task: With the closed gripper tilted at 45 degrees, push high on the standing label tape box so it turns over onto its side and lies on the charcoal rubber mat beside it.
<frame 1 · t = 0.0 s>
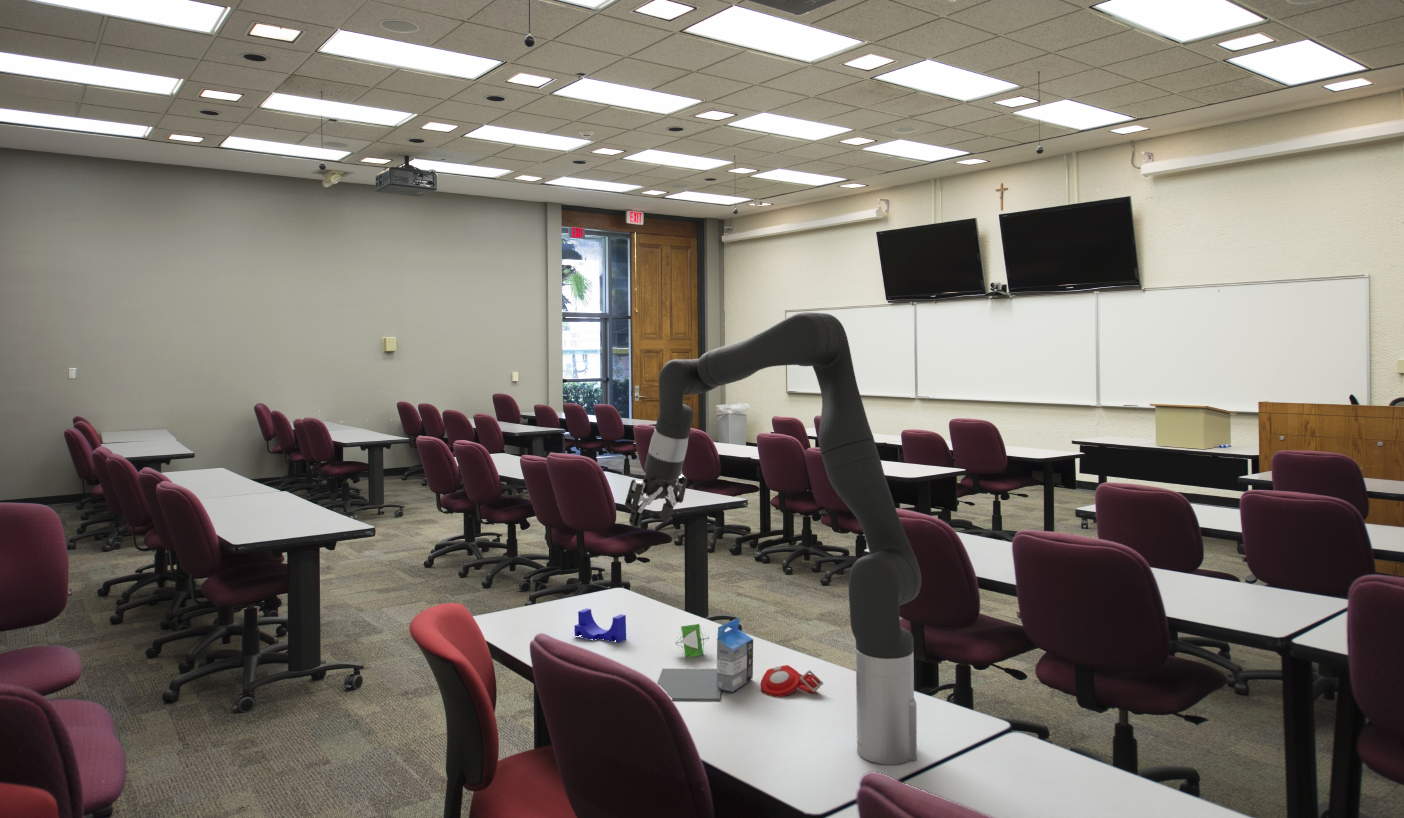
hand: (649, 523, 179), 31 cm above the table, tool tilted 20°, fingers open, 8 cm apart
mat: (689, 684, 173), on the table
label tape box: (734, 684, 172), on the table, touching mat
tracker holder: (789, 692, 169), on the table
blue cradle support: (600, 639, 203), on the table
geometric puzzle: (692, 655, 191), on the table
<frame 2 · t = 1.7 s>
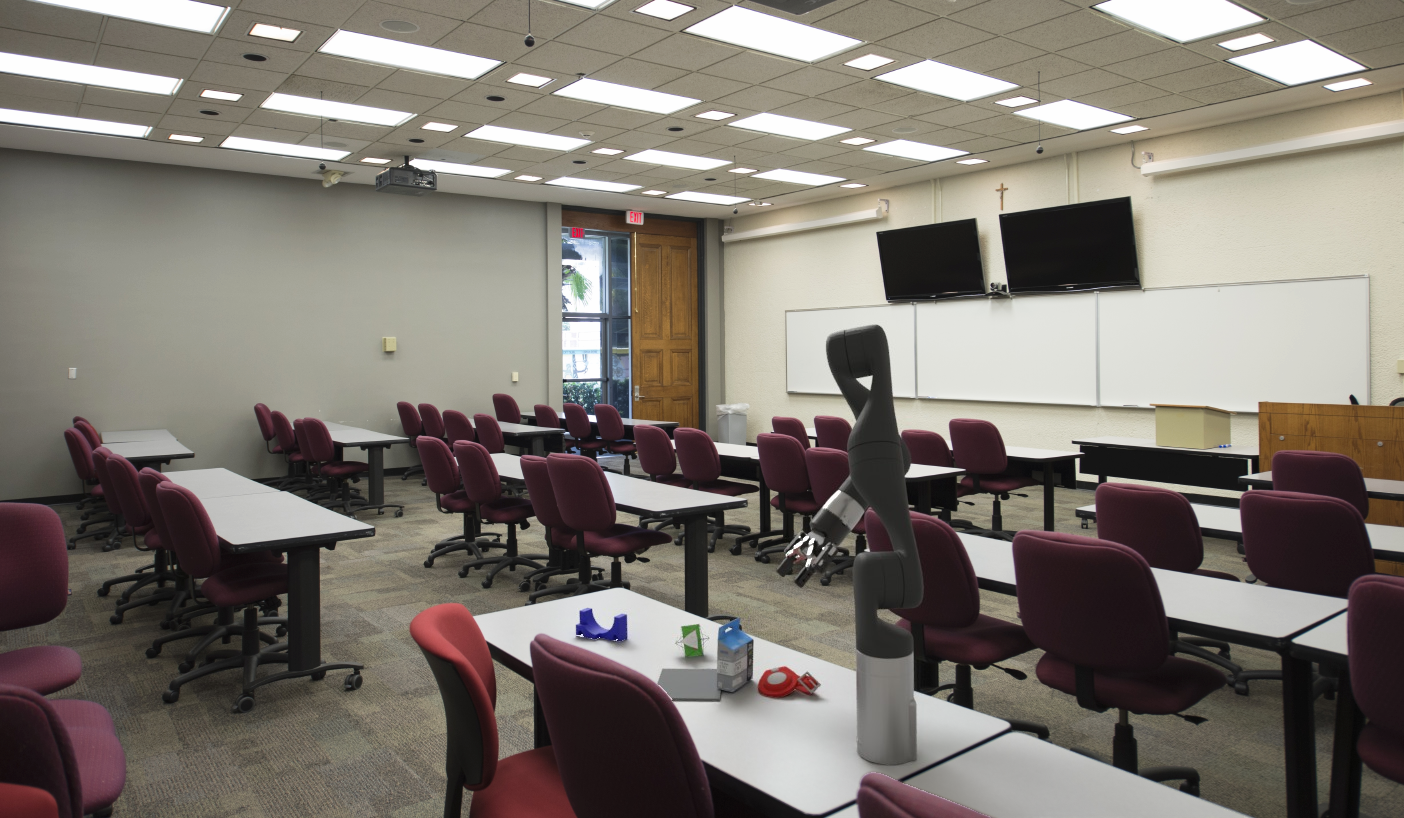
hand: (787, 579, 173), 21 cm above the table, tool tilted 45°, fingers open, 8 cm apart
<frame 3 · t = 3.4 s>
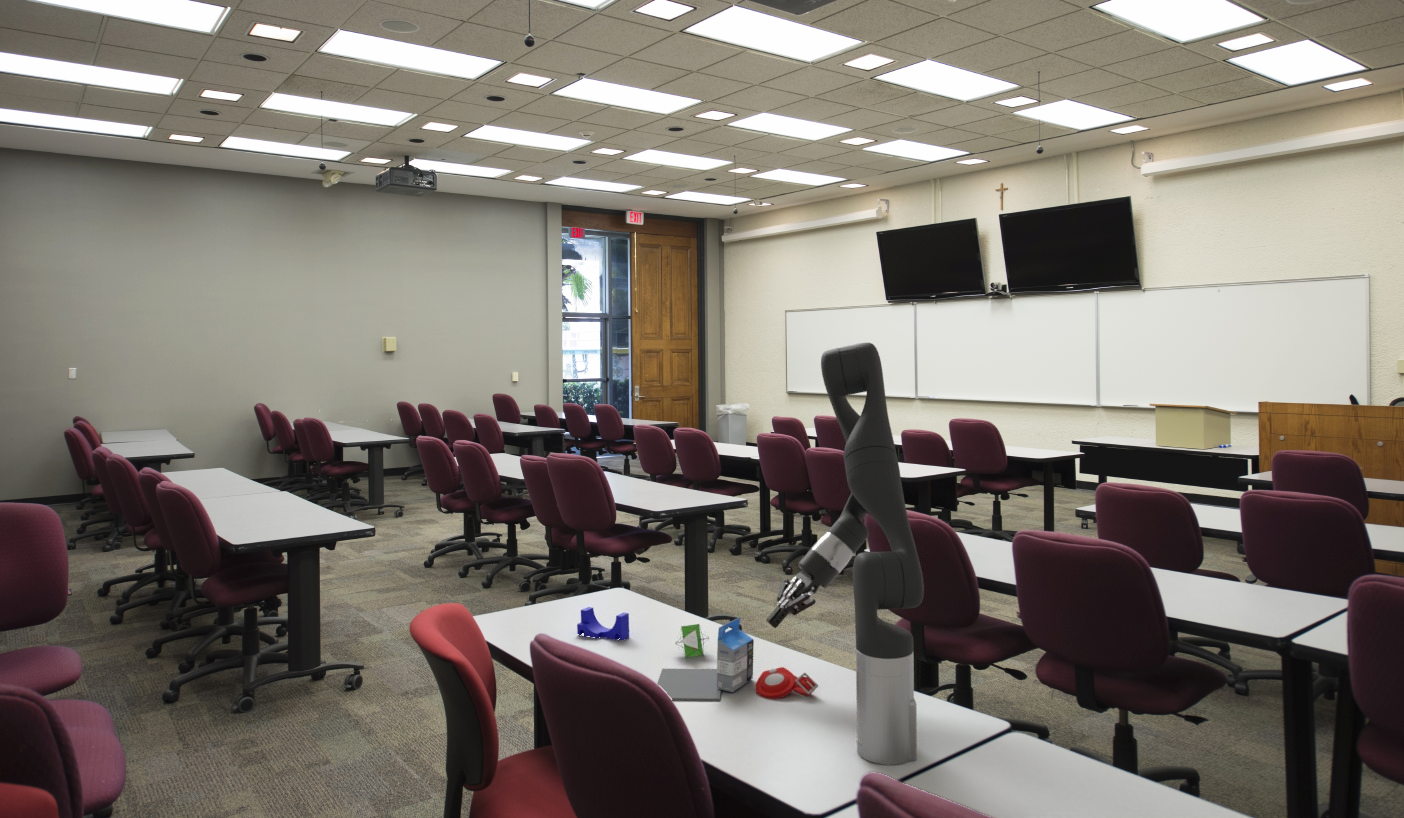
hand: (770, 624, 173), 12 cm above the table, tool tilted 45°, fingers closed
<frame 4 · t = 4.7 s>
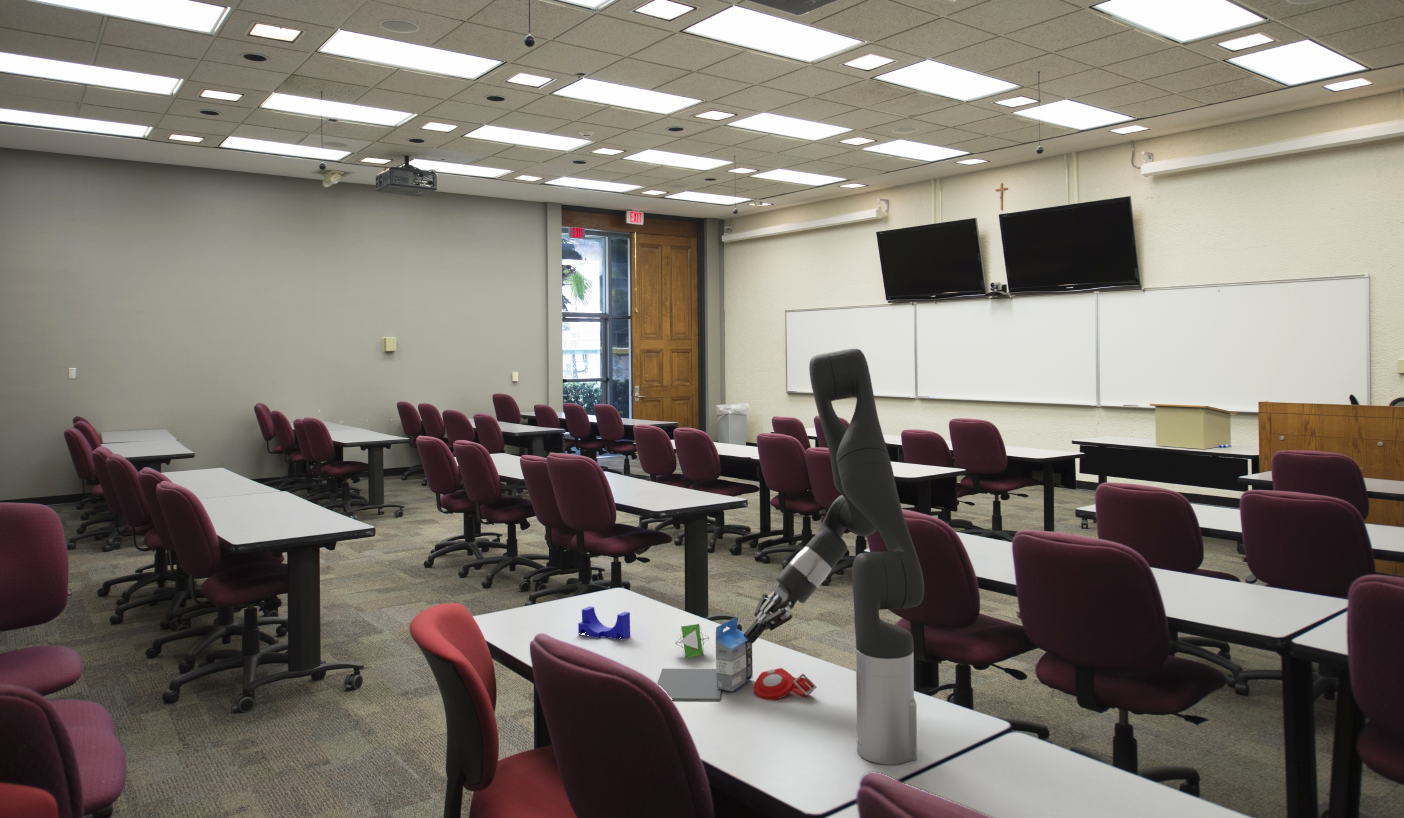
hand: (747, 639, 172), 9 cm above the table, tool tilted 45°, fingers closed
label tape box: (734, 684, 172), on the table, touching gripper, mat
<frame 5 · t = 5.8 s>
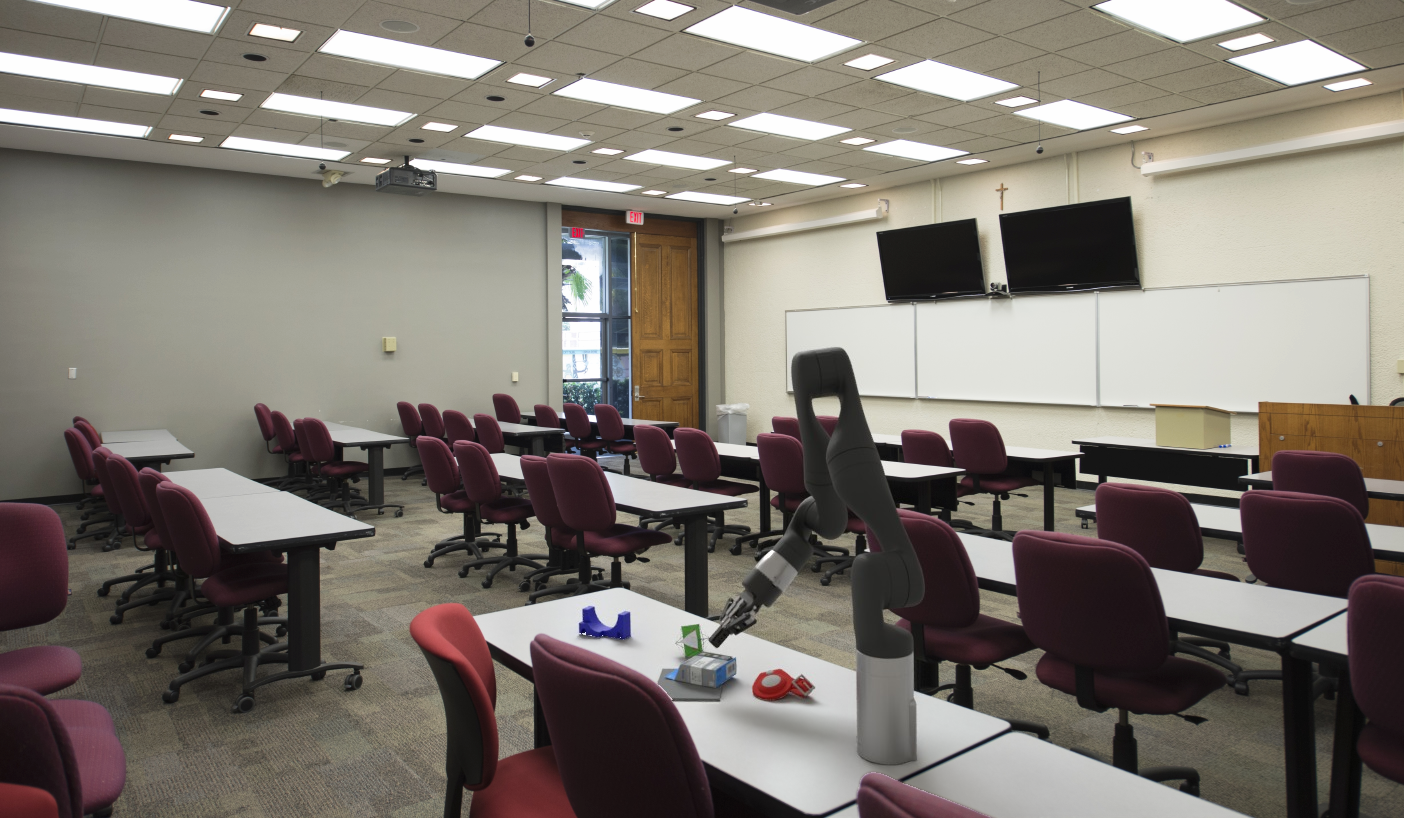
hand: (712, 644, 170), 9 cm above the table, tool tilted 45°, fingers closed
label tape box: (727, 673, 172), point 2 cm above the table, touching mat
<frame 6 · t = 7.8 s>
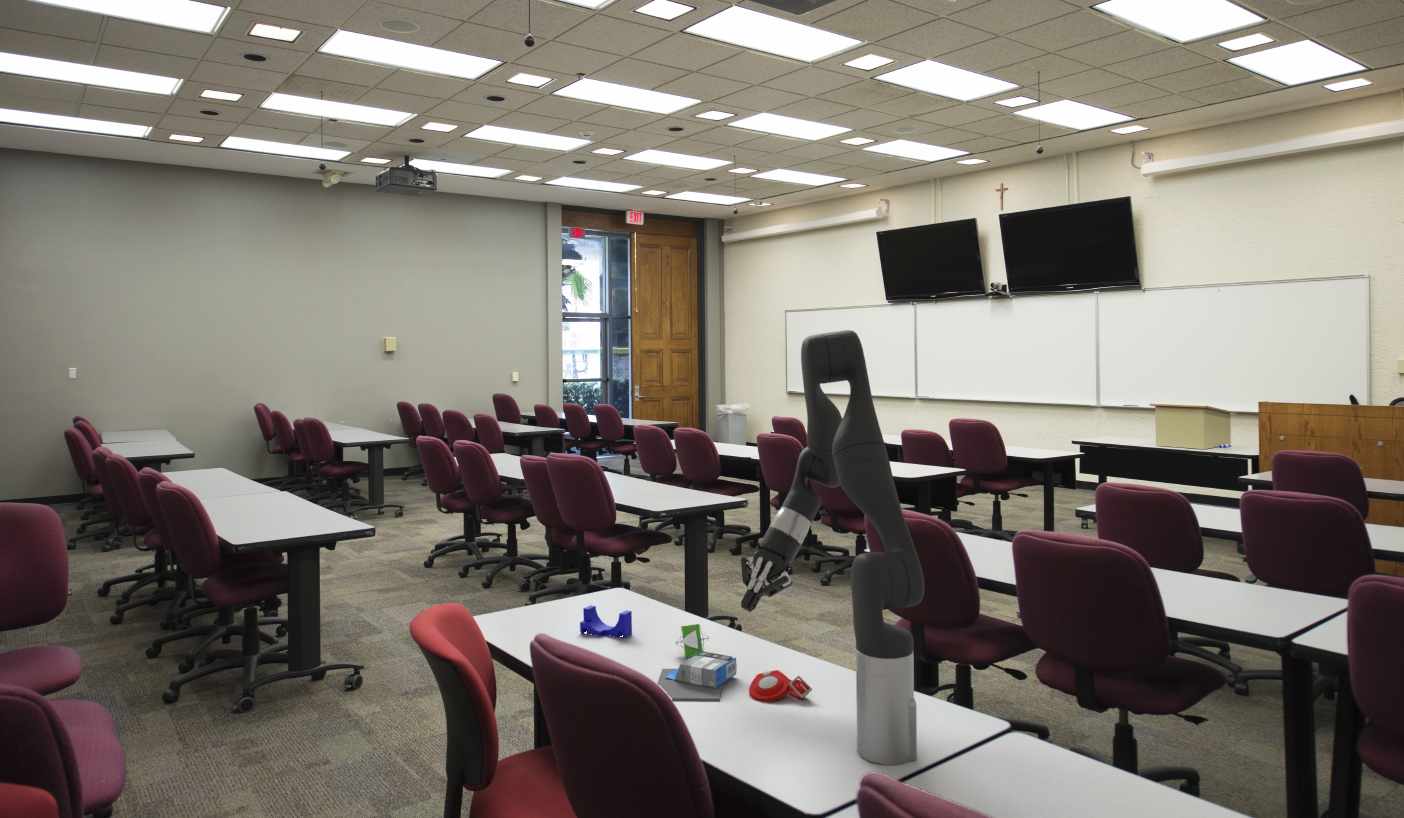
hand: (745, 609, 172), 15 cm above the table, tool tilted 35°, fingers closed
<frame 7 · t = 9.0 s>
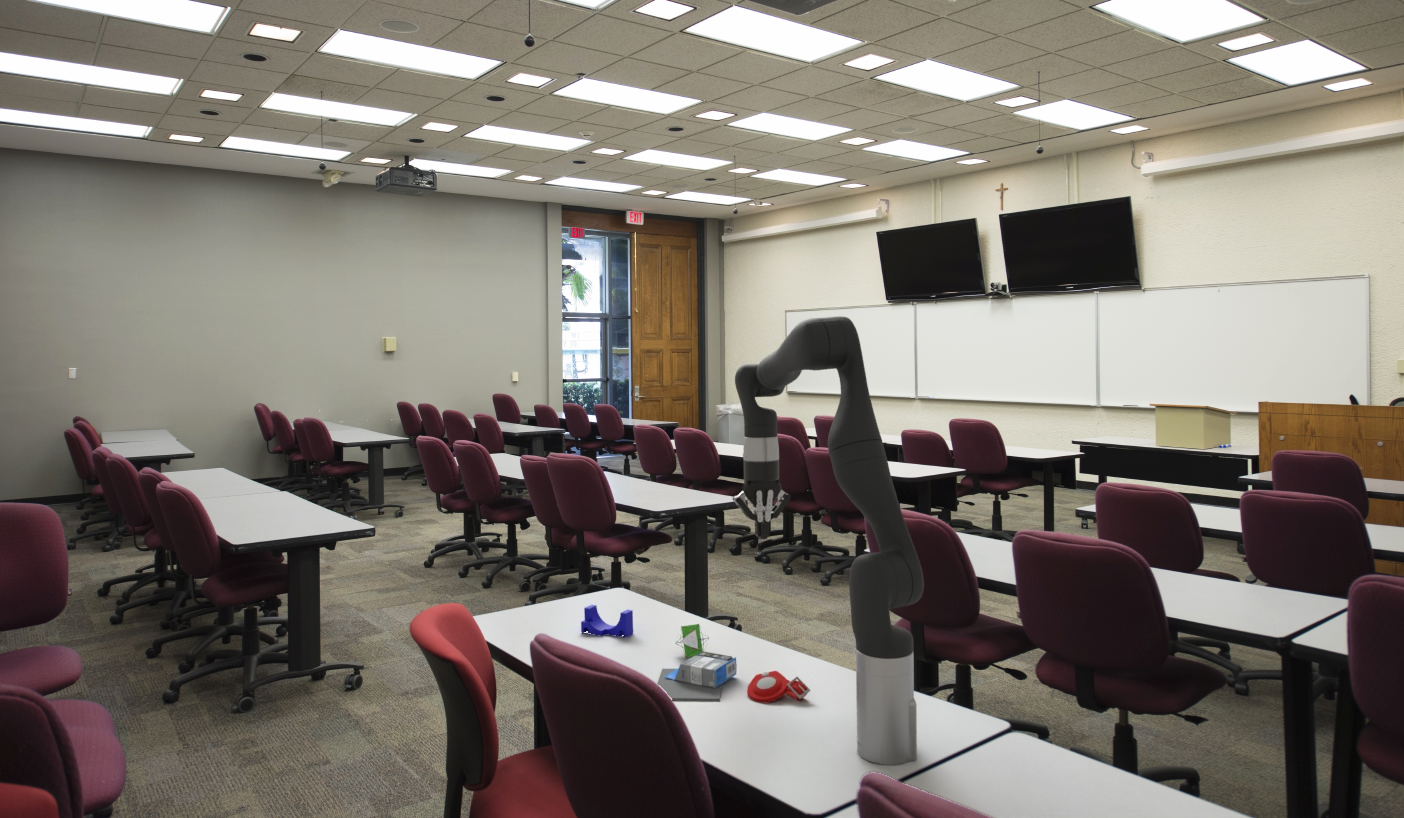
hand: (762, 538, 183), 27 cm above the table, tool pointing down, fingers closed
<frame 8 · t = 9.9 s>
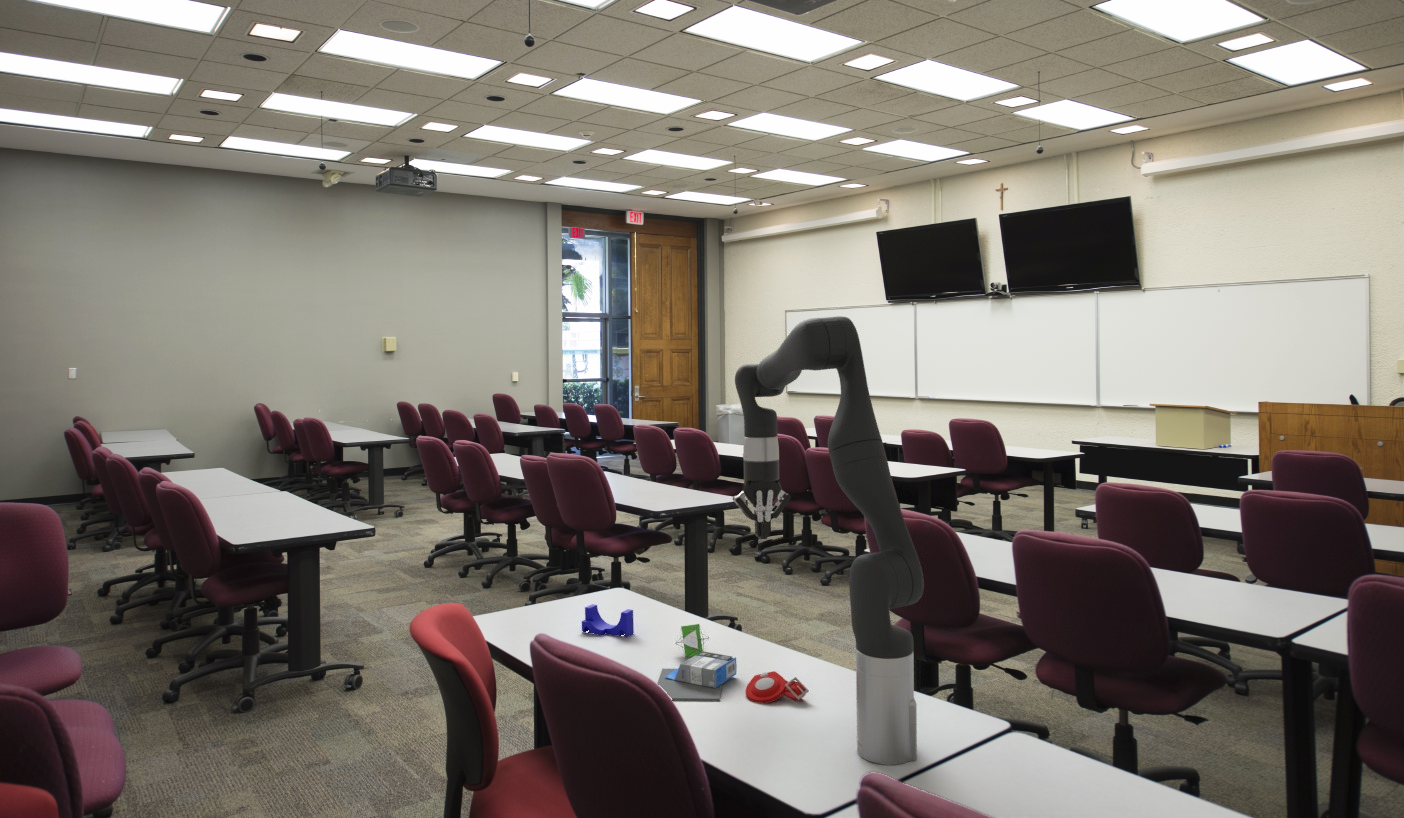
hand: (762, 538, 183), 27 cm above the table, tool pointing down, fingers closed
at the end: label tape box tilted 88°; label tape box touching mat; label tape box inside the target area (5.6 cm from its centre), point 2.2 cm above the table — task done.
